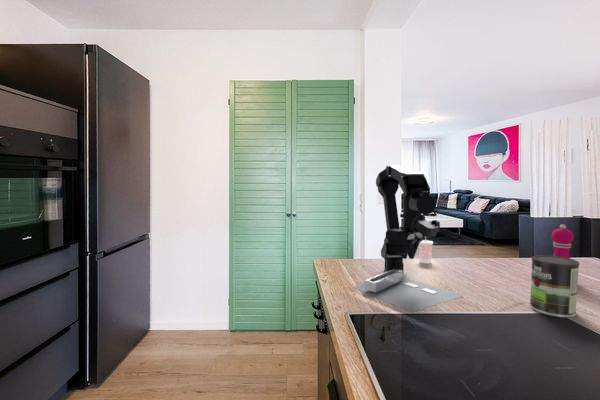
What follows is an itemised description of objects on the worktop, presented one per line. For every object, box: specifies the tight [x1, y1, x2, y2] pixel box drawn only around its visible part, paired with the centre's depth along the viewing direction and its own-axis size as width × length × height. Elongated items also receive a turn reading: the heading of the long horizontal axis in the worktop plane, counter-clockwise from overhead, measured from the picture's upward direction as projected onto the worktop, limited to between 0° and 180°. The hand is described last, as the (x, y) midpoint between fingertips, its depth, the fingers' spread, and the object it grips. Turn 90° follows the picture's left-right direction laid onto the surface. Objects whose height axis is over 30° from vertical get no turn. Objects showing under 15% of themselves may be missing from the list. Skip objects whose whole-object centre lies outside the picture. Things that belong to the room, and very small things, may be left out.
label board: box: [352, 276, 464, 313], centre depth 104 cm, size 24×23×1 cm
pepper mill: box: [551, 223, 574, 259], centre depth 116 cm, size 7×7×20 cm
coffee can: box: [529, 254, 580, 318], centre depth 91 cm, size 10×10×14 cm
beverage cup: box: [418, 236, 434, 264], centre depth 144 cm, size 6×6×14 cm
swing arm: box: [364, 269, 404, 293], centre depth 109 cm, size 19×4×3 cm, turn 135°
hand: (411, 258), depth 109 cm, fingers closed
